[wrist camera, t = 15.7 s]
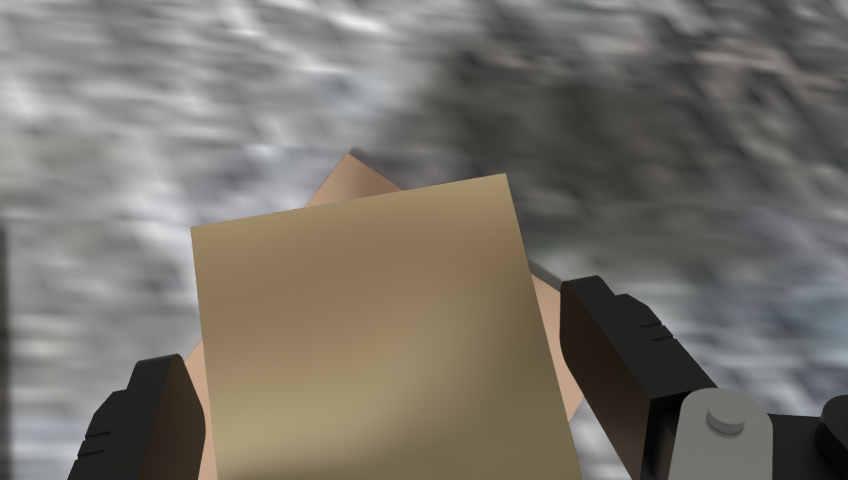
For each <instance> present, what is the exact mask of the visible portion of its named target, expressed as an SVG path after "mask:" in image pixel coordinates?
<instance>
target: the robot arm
mask: <svg viewBox="0 0 848 480" xmlns="http://www.w3.org/2000/svg"><path fill="white" fill-rule="evenodd" d="M559 339H560V347H561V351H562V355H563V358H564V361H565V363H566V365H567V367H568V369H569V371H570V372H571V374H572V376H573V378H574V379H575V381H576V383H577V385H578V386H579V388H580V390H581V391H582V393H583V395H584V397H585V398H586V400H587V402H588V404H589V405H590V407H591V409H592V411H593V412H594V414H595V416H596V418H597V419H598V421H599V423H600V425H601V426H602V428H603V430H604V431H605V433H606V435H607V437H608V438H609V440H610V442H611V444H612V445H613V447H614V449H615V451H616V452H617V454H618V456H619V458H620V459H621V461H622V463H623V465H624V466H625V468H626V470H627V472H628V473H629V475H630V477H631V478H632V480H848V395H841V396H837V397H834V398H832V399H830V400H829V401H828V402H827V403H826V404H825V406H824V408H823V411H822V414H821V417H810V416H792V415H776V414H768V413H766V412H765V411H764V410H763V408H762V407H760V406H759V405H758V404H757V403H756V402H754V401H753V400H751V399H750V398H748V397H746V396H744V395H742V394H740V393H737V392H734V391H731V390H727V389H721V388H718V387H717V386H716V385H715V384H714V382H713V381H712V380H711V379H710V378H709V377H708V375H707V374H706V373H705V372H704V371H703V370H702V368H701V367H700V366H699V365H698V364H697V363H696V361H695V360H694V359H693V358H692V357H691V356H690V355H689V353H688V352H687V351H686V350H685V349H684V348H683V346H682V345H681V344H680V343H679V342H678V341H677V339H674V338H673V335H672V334H671V332H670V331H669V330H668V329H667V328H666V327H665V325H663V326H662V322H661V321H660V320H659V319H658V317H657V316H656V315H655V314H654V313H653V312H652V310H651V309H650V308H649V307H648V306H647V305H645V304H644V303H642V302H640V301H638V300H637V299H635V298H633V297H631V296H630V295H628V294H621V295H616V296H615V295H614V293H613V292H612V291H611V290H610V288H609V287H608V286H607V285H606V283H605V282H604V281H603V280H602V279H601V277H599V276H597V275H595V276H590V277H585V278H579V279H574V280H569V281H564V282H563V283H562V285H561V290H560V329H559ZM205 437H206V423H205V416H204V411H203V408H202V405H201V403H200V400H199V398H198V395H197V393H196V390H195V388H194V385H193V383H192V380H191V378H190V375H189V373H188V370H187V368H186V366H185V363H184V361H183V359H182V357H181V356H180V355H179V354H173V355H167V356H162V357H157V358H152V359H146V360H141V361H138V362H137V363H136V365H135V367H134V370H133V373H132V375H131V378H130V381H129V384H128V386H127V389H125V390H120V391H115V392H113V393H112V394H111V395H110V396H109V397H108V398H107V399H106V401H105V402H104V403H103V404H102V405H101V406H100V408H99V409H98V410H97V411H96V412H95V413H94V415H93V418H92V420H91V423H90V425H89V427H88V430H87V432H86V435H85V441H83V442H82V445H81V447H80V450H79V452H78V455H77V456H78V459H77V460H75V462H74V464H73V467H72V469H71V472H70V474H69V477H68V479H67V480H198V477H199V471H200V466H201V460H202V455H203V449H204V443H205Z"/></svg>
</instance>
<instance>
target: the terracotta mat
mask: <svg viewBox="0 0 848 480" xmlns="http://www.w3.org/2000/svg"><path fill="white" fill-rule="evenodd" d="M398 191H404V190H403V189H402V188H400V187H399V186H397V185H395V184H394V183H392V182H391V181H389V180H388V179H386V178H385V177H383V176H382V175H380V174H379V173H377V172H376V171H374V170H373V169H371V168H370V167H368V166H367V165H365V164H363V163H362V162H360V161H359V160H357V159H356V158H354V157H353V156H351V155H350V154H348V153H346V155H345V156H344V157H343V159H342V160H341V161H340V162H339V164H338V165H337V166H336V168H335V169H334V170H333V171H332V173H331V174H330V175H329V177H328V178H327V179H326V180H325V182H324V183H323V184H322V186H321V187H320V188H319V189H318V191H317V192H316V193H315V195H314V196H313V197H312V198H311V200H310V201H309V202H308V204H307V205H306V206H305V207H311V206H317V205H323V204H329V203H334V202H340V201H346V200H352V199H358V198H363V197H369V196H375V195H381V194H387V193H392V192H398ZM305 207H304V208H305ZM531 276H532V280H533V284H534V288H535V292H536V296H537V300H538V304H539V308H540V312H541V315H542V319H543V323H544V327H545V331H546V335H547V339H548V343H549V347H550V351H551V355H552V359H553V363H554V367H555V371H556V375H557V379H558V383H559V387H560V391H561V395H562V399H563V403H564V407H565V410H566V414H567V418H568V422H569V421H570V420H571V418H572V416H573V414H574V413H575V411H576V409H577V407H578V406H579V404H580V402H581V400H582V399H583V397H584V395H583V393H582V391H581V390H580V388H579V386H578V385H577V383H576V381H575V379H574V378H573V376H572V374H571V372H570V371H569V369H568V367H567V365H566V363H565V361H564V358H563V355H562V351H561V347H560V339H559V329H560V292H558V291H557V290H555V289H554V288H552V287H551V286H549V285H548V284H546V283H545V282H543V281H542V280H540V279H539V278H537V277H536V276H534V275H533V274H531ZM184 363H185V366H186V368H187V370H188V373H189V375H190V378H191V380H192V383H193V385H194V388H195V390H196V393H197V395H198V398H199V400H200V403H201V405H202V408H203V411H204V416H205V423H206V437H205V443H204V449H203V455H202V460H201V466H200V471H199V477H198V479H199V480H218V479H217V469H216V460H215V451H214V441H213V432H212V423H211V413H210V404H209V395H208V386H207V376H206V367H205V358H204V348H203V339H202V340H201V341H200V342H199V344H198V345H197V346H196V347H195V349H194V350H193V351H192V353H191V354H190V355H189V356H188V358H187V359H186V360H185V362H184Z"/></svg>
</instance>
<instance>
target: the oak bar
mask: <svg viewBox="0 0 848 480" xmlns="http://www.w3.org/2000/svg"><path fill="white" fill-rule="evenodd" d="M190 228H191V237H192V246H193V256H194V265H195V274H196V283H197V293H198V302H199V311H200V321H201V330H202V339H203V348H204V358H205V367H206V376H207V386H208V395H209V404H210V413H211V423H212V432H213V441H214V451H215V460H216V469H217V479H218V480H583V478H582V474H581V470H580V466H579V462H578V458H577V454H576V450H575V446H574V442H573V438H572V434H571V430H570V426H569V422H568V418H567V414H566V410H565V407H564V403H563V399H562V395H561V391H560V387H559V383H558V379H557V375H556V371H555V367H554V363H553V359H552V355H551V351H550V347H549V343H548V339H547V335H546V331H545V327H544V323H543V319H542V315H541V312H540V308H539V304H538V300H537V296H536V292H535V288H534V284H533V280H532V276H531V272H530V268H529V264H528V260H527V256H526V252H525V248H524V244H523V240H522V236H521V232H520V228H519V224H518V220H517V217H516V213H515V209H514V205H513V201H512V197H511V193H510V189H509V185H508V181H507V177H506V173H503V174H497V175H491V176H485V177H479V178H474V179H468V180H462V181H456V182H450V183H445V184H439V185H433V186H427V187H421V188H416V189H410V190H404V191H398V192H392V193H387V194H381V195H375V196H369V197H363V198H358V199H352V200H346V201H340V202H334V203H329V204H323V205H317V206H311V207H305V208H300V209H294V210H288V211H282V212H276V213H271V214H265V215H259V216H253V217H247V218H242V219H236V220H230V221H224V222H218V223H213V224H207V225H201V226H195V227H190Z"/></svg>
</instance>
